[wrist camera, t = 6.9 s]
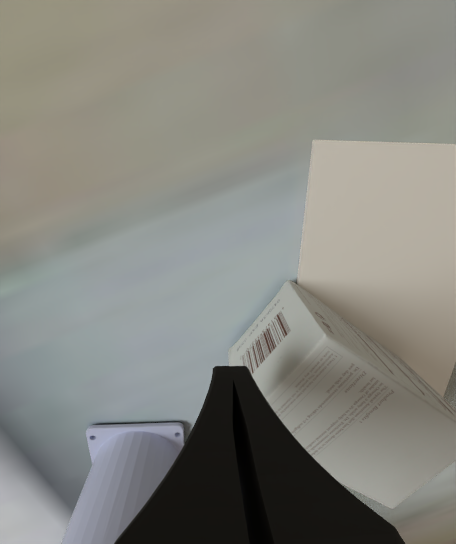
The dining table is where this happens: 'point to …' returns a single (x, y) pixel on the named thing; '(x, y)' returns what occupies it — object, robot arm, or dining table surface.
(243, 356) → the supplement box
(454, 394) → the dining table surface
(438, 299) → the mat
